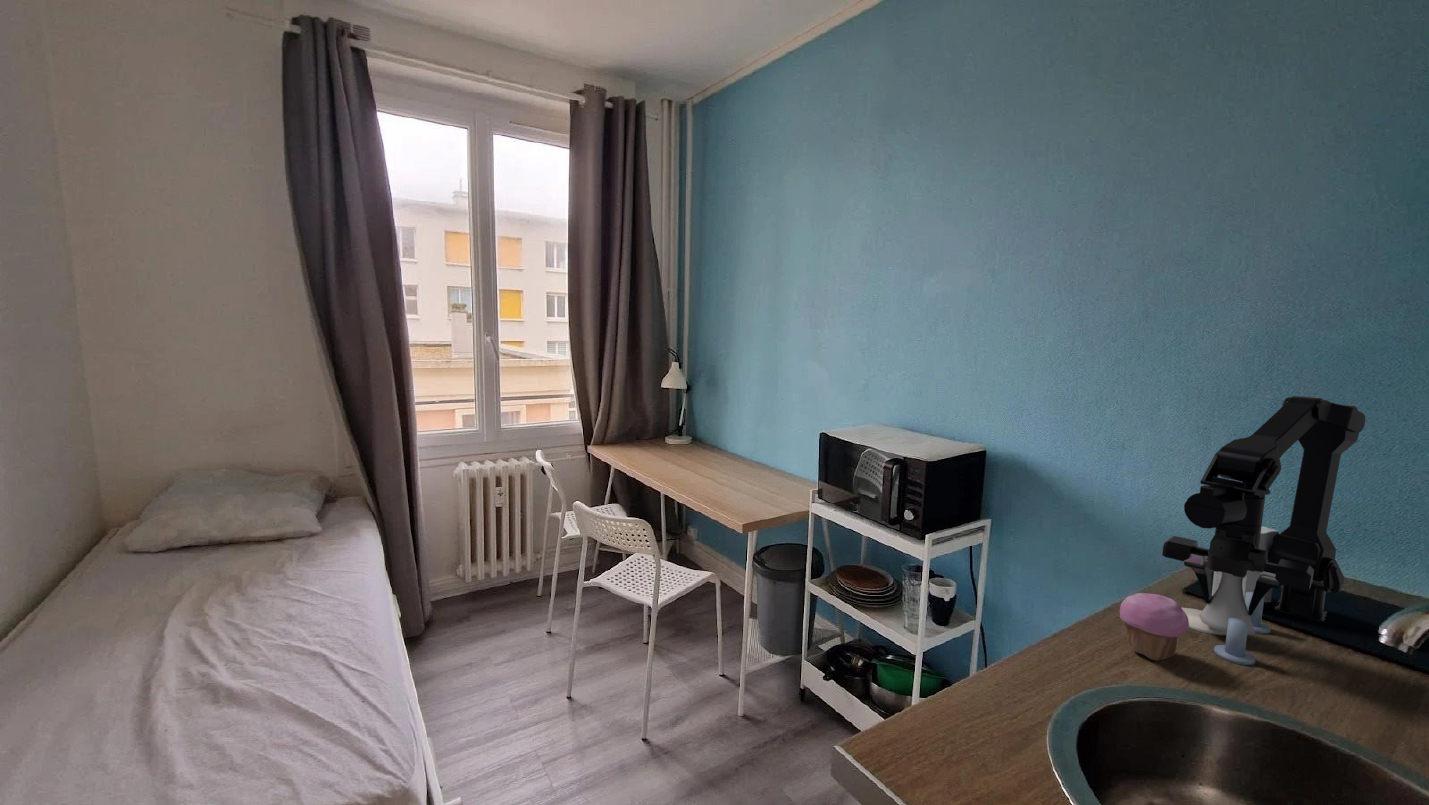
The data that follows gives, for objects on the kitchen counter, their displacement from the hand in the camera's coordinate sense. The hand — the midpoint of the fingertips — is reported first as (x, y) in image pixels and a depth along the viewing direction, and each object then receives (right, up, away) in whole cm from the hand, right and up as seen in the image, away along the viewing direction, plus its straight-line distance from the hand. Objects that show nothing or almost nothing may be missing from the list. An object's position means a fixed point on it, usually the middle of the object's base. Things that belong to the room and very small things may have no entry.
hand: (1228, 608), depth 101 cm
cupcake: (-18, -6, -6) cm, 19 cm away
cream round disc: (0, -4, +5) cm, 7 cm away
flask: (0, -3, 0) cm, 3 cm away
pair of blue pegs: (+1, -5, -1) cm, 6 cm away
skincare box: (+15, -4, +14) cm, 21 cm away
